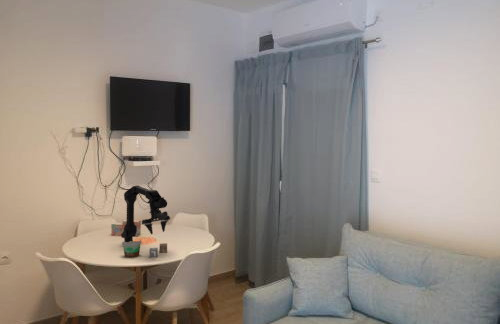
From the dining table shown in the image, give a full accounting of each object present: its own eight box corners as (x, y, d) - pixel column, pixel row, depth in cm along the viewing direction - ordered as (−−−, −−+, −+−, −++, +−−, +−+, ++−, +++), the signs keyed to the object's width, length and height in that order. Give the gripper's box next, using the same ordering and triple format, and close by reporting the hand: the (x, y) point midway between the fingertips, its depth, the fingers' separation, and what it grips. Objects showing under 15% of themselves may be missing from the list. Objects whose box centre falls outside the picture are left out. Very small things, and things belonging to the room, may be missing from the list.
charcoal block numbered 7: (149, 255, 245) (149, 247, 245) (157, 254, 246) (157, 247, 246) (149, 257, 240) (149, 250, 240) (157, 257, 241) (157, 249, 241)
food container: (121, 258, 237) (121, 243, 237) (122, 255, 243) (122, 240, 243) (141, 257, 240) (141, 242, 239) (141, 254, 246) (141, 239, 245)
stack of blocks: (111, 235, 289) (111, 220, 288) (114, 233, 295) (114, 218, 294) (137, 237, 286) (137, 221, 286) (140, 235, 293) (140, 219, 292)
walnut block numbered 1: (159, 250, 255) (159, 243, 255) (167, 250, 256) (167, 243, 256) (159, 253, 250) (159, 245, 250) (166, 252, 251) (167, 245, 251)
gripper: (149, 210, 232) (153, 234, 231) (173, 206, 246) (176, 229, 245) (139, 211, 239) (143, 235, 238) (163, 208, 254) (166, 230, 252)
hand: (157, 232), depth 243 cm, fingers open, 9 cm apart
